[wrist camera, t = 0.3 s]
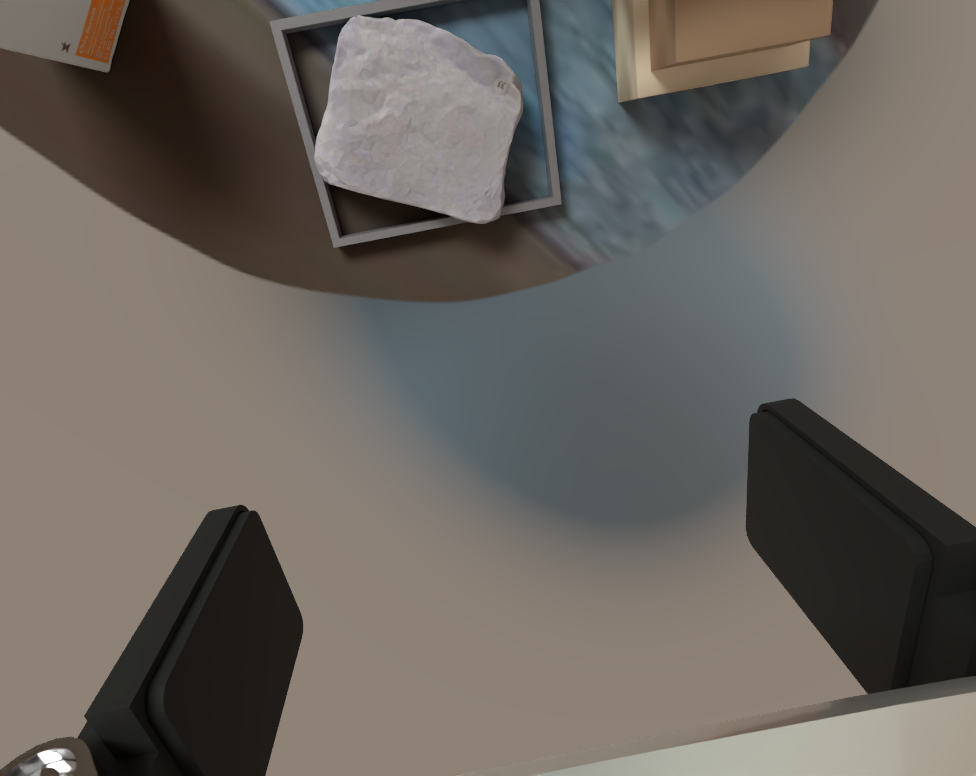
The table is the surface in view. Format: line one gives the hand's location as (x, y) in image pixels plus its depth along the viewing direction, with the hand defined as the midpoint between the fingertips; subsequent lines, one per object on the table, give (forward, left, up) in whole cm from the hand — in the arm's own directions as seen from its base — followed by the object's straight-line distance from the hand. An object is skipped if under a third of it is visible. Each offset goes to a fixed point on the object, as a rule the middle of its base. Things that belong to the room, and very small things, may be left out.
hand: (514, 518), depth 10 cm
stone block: (-8, 0, -31) cm, 32 cm away
